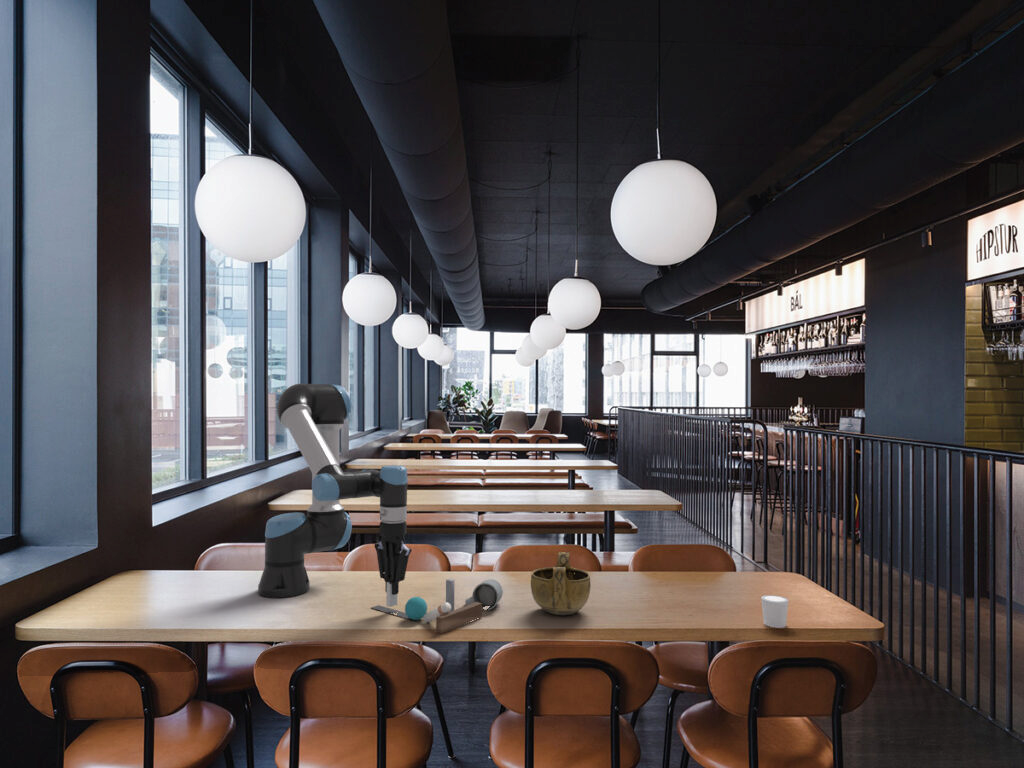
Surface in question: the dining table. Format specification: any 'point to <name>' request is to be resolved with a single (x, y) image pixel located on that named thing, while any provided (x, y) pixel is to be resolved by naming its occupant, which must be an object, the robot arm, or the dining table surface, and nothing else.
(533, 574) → the ceramic bowl
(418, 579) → the dining table surface
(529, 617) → the dining table surface
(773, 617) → the white cup
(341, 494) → the robot arm
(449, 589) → the grey pin
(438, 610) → the white pin
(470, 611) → the backstop
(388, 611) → the grey flat bar
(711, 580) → the dining table surface
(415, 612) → the ball
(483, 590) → the ceramic mug
